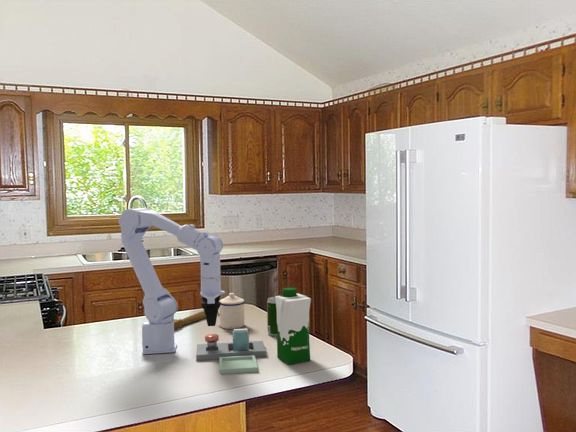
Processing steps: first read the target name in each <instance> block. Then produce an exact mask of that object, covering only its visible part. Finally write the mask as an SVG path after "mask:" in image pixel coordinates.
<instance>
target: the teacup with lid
mask: <svg viewBox="0 0 576 432" xmlns="http://www.w3.org/2000/svg"><path fill="white" fill-rule="evenodd" d="M219 302H221V305H220V307H219V311H218V313H217V318H219V326H220V327H221V328H222V329H228V330H234V329H242V328H243V327H244V326H245V303H246V302H245V299H244V298H241V297H239V296H237V295H236V294H235V293H234V292H230V293H228V295H227V296H225V297H224V298H222V299H221V298H220V299H219Z"/></svg>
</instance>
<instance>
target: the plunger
mask: <svg viewBox="0 0 576 432" xmlns="http://www.w3.org/2000/svg"><path fill="white" fill-rule="evenodd" d="M204 341H205V342H206V344H207V348H208V349H214V348H217V343H218V341H220V336H219V334H218V333H217V334H215V333H210V334H209V333H208V334H205V336H204Z"/></svg>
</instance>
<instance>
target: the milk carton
mask: <svg viewBox="0 0 576 432" xmlns="http://www.w3.org/2000/svg"><path fill="white" fill-rule="evenodd" d="M281 291H282V293H281V294H279V295H275V296H274V297H275V299H276V309H277V336H276V337H277V338H276V346H277V348H276V350H277V356H276V357H277V359H279V360H281V361H282V362H284V363H285V364H287V365H289V366H290V365H294V364H299V363H306V362H311V350H310V349H311V348H310V346H311V345H310V308H311V303H312V298H310V297H308V296H307V295H304V294H301V293H297V288H296V287H294V286H293V287H289V286H288V287H283V288H282V290H281Z"/></svg>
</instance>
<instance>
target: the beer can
mask: <svg viewBox="0 0 576 432" xmlns="http://www.w3.org/2000/svg"><path fill="white" fill-rule="evenodd" d="M266 314H267V316H266V319H267V322H266V323H267V333H268V334H267V335H269V336H271V337H277V309H276V299H275V296H271V297H267V301H266Z"/></svg>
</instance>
